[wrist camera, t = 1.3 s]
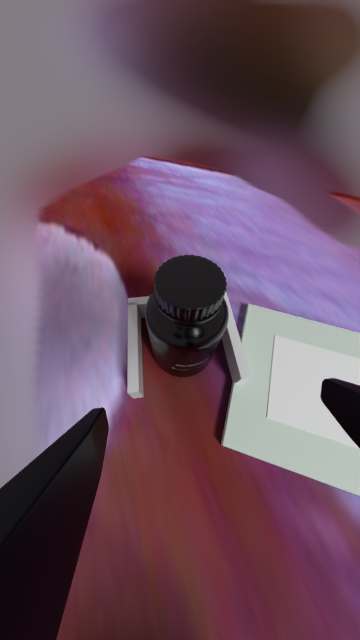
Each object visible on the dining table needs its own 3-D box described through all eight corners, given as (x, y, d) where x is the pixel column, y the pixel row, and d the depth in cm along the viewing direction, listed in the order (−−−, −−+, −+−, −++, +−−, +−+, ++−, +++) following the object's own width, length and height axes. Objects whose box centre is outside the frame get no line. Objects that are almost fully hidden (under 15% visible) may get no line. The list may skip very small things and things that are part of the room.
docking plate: (412, 515, 16) (427, 520, 16) (220, 444, 19) (223, 445, 18) (379, 343, 24) (388, 339, 23) (246, 308, 26) (248, 303, 25)
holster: (242, 384, 21) (251, 377, 19) (133, 398, 21) (127, 392, 18) (220, 303, 27) (225, 289, 24) (132, 312, 26) (127, 298, 23)
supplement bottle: (186, 392, 21) (195, 350, 11) (141, 351, 23) (112, 282, 13) (224, 347, 24) (262, 277, 13) (180, 313, 26) (184, 231, 15)
